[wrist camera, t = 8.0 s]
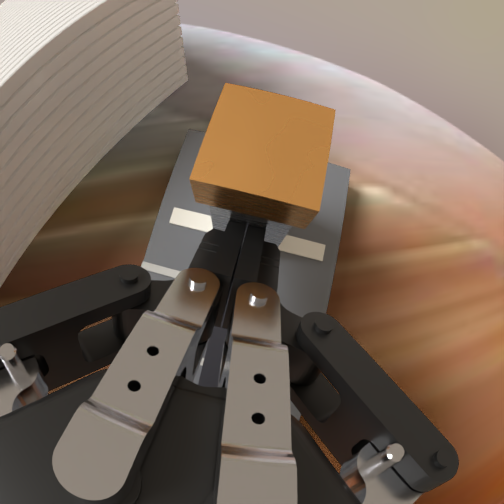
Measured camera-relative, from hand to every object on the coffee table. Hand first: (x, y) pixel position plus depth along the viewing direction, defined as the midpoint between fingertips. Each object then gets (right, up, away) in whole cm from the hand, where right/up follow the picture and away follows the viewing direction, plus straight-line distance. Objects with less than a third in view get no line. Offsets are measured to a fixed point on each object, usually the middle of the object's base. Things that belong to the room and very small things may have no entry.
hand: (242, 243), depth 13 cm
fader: (0, +1, +4) cm, 4 cm away
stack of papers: (-19, +4, +6) cm, 20 cm away
